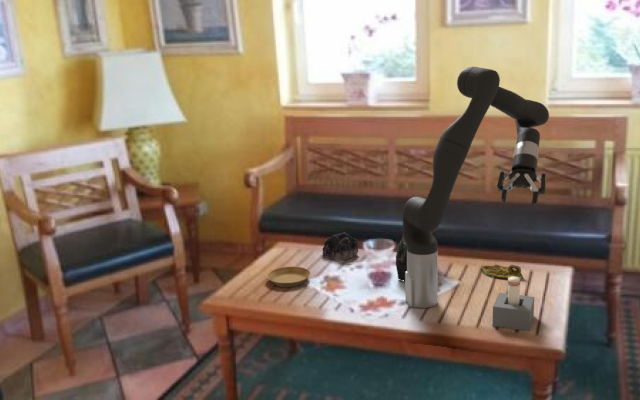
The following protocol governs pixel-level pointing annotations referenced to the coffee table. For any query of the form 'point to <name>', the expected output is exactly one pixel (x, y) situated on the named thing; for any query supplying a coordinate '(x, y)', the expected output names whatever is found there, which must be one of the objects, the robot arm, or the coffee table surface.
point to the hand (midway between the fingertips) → (518, 203)
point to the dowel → (513, 291)
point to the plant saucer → (289, 276)
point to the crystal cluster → (340, 247)
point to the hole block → (513, 312)
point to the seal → (502, 271)
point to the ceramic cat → (404, 257)
